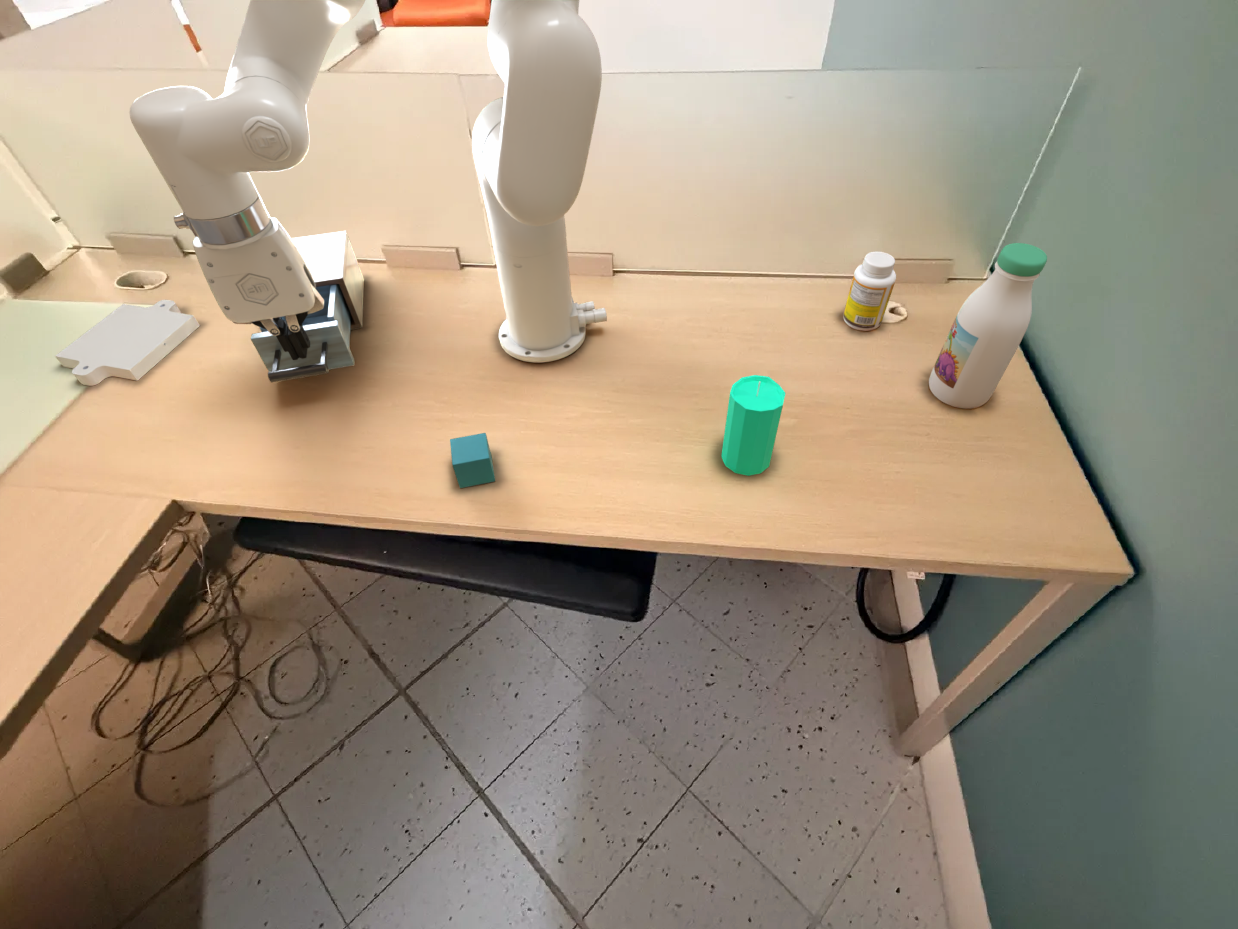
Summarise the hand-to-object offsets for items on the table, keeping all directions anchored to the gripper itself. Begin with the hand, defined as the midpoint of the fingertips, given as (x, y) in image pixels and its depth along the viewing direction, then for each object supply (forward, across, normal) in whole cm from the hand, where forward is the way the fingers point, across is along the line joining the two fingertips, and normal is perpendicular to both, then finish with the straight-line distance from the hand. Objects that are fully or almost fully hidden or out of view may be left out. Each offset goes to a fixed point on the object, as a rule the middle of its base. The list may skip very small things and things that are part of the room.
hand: (300, 352), depth 84 cm
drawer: (+6, -1, +6) cm, 8 cm away
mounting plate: (+6, -28, +18) cm, 33 cm away
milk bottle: (+8, +82, -22) cm, 86 cm away
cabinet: (+6, -1, +20) cm, 21 cm away
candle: (+8, +51, -26) cm, 58 cm away
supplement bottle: (+8, +77, -6) cm, 78 cm away
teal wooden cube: (+7, +19, -20) cm, 29 cm away
